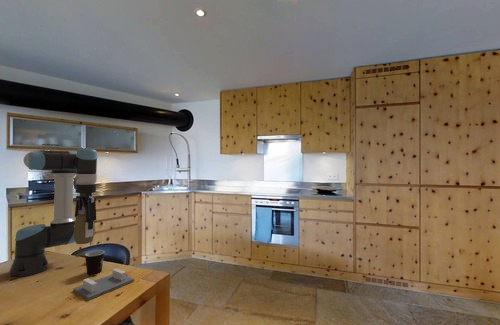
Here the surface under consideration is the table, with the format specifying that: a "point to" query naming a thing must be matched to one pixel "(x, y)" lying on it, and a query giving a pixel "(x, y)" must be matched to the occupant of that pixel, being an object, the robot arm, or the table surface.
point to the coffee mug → (94, 262)
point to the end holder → (103, 284)
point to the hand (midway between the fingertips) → (84, 235)
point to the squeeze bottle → (82, 228)
